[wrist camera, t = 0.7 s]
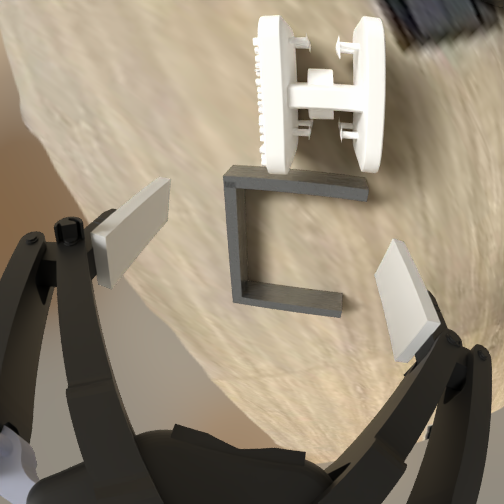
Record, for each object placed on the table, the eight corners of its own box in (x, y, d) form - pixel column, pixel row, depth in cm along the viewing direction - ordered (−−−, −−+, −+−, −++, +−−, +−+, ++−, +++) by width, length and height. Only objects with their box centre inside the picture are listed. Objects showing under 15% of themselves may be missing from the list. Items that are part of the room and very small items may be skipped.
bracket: (365, 177, 34) (368, 190, 30) (340, 299, 46) (340, 317, 43) (232, 165, 37) (223, 175, 34) (239, 286, 49) (233, 302, 46)
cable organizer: (365, 152, 32) (380, 189, 23) (279, 146, 34) (259, 180, 25) (366, 33, 23) (386, 15, 14) (273, 29, 26) (248, 11, 16)
